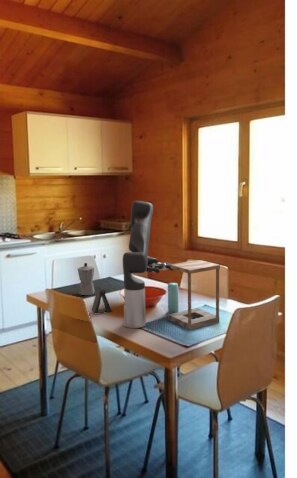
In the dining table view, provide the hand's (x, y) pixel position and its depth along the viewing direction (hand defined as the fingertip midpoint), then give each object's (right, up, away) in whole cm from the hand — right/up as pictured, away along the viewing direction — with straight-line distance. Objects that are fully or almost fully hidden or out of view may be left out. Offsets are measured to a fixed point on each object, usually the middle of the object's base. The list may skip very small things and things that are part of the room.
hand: (166, 269), depth 215 cm
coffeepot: (-44, -16, +34) cm, 58 cm away
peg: (+3, -20, -2) cm, 21 cm away
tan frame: (+12, -22, -15) cm, 30 cm away
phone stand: (-32, -21, +1) cm, 38 cm away
